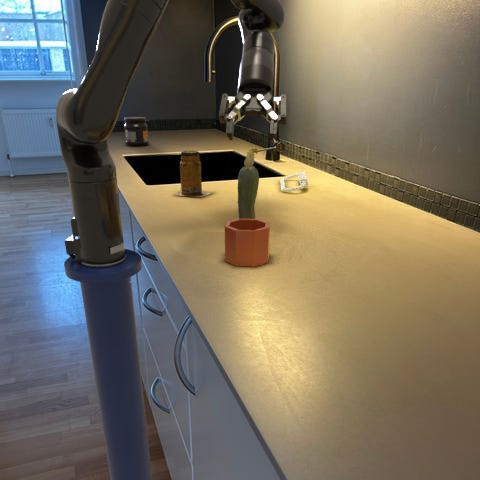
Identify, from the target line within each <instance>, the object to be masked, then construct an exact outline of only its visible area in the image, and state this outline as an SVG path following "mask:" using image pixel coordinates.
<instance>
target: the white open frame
mask: <svg viewBox="0 0 480 480" xmlns="http://www.w3.org/2000/svg"><path fill="white" fill-rule="evenodd" d="M293 178H298V180H299V184H300V185H297V186H294V187H286V182H285V181H287V180H290V179H293ZM308 188H309V182H308V178H307V174H306V171H300V172H299V171H298V172H297V173H293V174H289V175H285V176H284V177H282V178H280V190H281V192H283V193H290V192H295V191H298V190H299V191H300V190H303V189H308Z"/></svg>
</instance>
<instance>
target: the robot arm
mask: <svg viewBox="0 0 480 480" xmlns="http://www.w3.org/2000/svg"><path fill="white" fill-rule="evenodd" d="M169 2H170V0H107V2H106V4H105V8H104V10H103V13H102V18H101V22H100V26H99V32H98V33H99V34H98V40H97V45H96V50H95V52H94V53H95V54H94V57H93V59H92V61H91V64H90V65H89V67H88V70H87V72H86V73H85V75H84V77H83V79H82V81H81V83H80V85H79V86H78V87H77V88H73V89H69V90H67V91H65V92H64V93H62V94H61V96H60V97H59V98H58V100H57V102H56V106H55V124H56V129H57V136H58V141H59V146H60V151H61V157H62V161H63V164H64V167H65V170H66V173H67V179H68V185H69V192H70V199H71V206H72V213H73V217H72V218H71V219H70V227H71V233H72V234H71V235H70V236H68V237H67V238H66V239H65V240H64V247H65V251H66V252H65V254H66V255H68V256H69V257H71V258H72V259H74V258H75V254H76V260H77V264H78V265H83V266H86V267H91V268H106V267H112V266H116V265H119V264H121V263H123V262H124V261H125V260H126V255H125V249H126V248H125V242H124V232H123V223H122V213H121V205H120V196H119V187H118V186H119V185H118V177H117V169H116V164H115V162H114V160H113V158H112V156H111V153H110V150H109V145H108V138H109V137H110V135H111V134H112V133H113V131H114V128H115V126H116V123H117V122H118V118H119V115H120V112H121V109H122V105H123V103H124V100H125V97H126V94H127V91H128V88H129V86H130V84H131V82H132V78H133V77H134V75H135V73H136V71H137V69H138V68H139V66H140V63H141V61H142V59H143V57H144V55H145V54H146V51H147V49H148V47H149V45H150V43H151V41H152V39H153V37H154V35H155V33H156V31H157V29H158V27H159V25H160V22H161V20H162V18H163V16H164V13H165V11H166V8H167V6H168V4H169ZM230 2H231V4H232V5H233V6H234V7H235V8H236V9H238V10H240V11H239V14H238V17H237V19H238V26H239V30H240V32H241V38H242V44H243V45H242V55H241V61H240V64H239V74H238V82H237V83H238V85H237V93H236V94H235V96H229V95H228V93H226V92H225V93H223V94H222V95H221V100H220V105H219V112H218V117H219V122H220V124H221V125H224V124H226V126H225V135H226V138H228V140H229V141H233V140H234V134H235V125H236V124H237V122H240V121H241V120H242V119H243V118H244V117H245V118H253V117H255V118H261V117H263V118H264V119H265V120H266V121H267V122H268V123H269V142H274V139H277V137H278V127H279V126H280V125H282V126H284V125H286V124H287V94H285V93H282V94H280V96H274V95H273V90H274V78H275V63H274V61H275V47H276V46H275V45H276V44H275V43H276V41H275V38H274V36H273V33H276V32H278V31H279V30H281V29H282V28H283V26H284V24H285V21H286V10H285V7H284V5H283V3H282V2H281V0H230ZM233 104H234V106H233ZM274 105H276V107H277V108H278V109H279V110H280V114H277V113H276V112H275V111H274V110H273V106H274ZM232 106H233V108H232V110H231V111H230V112H229V109H230V108H231V107H232ZM228 112H229V113H228Z"/></svg>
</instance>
